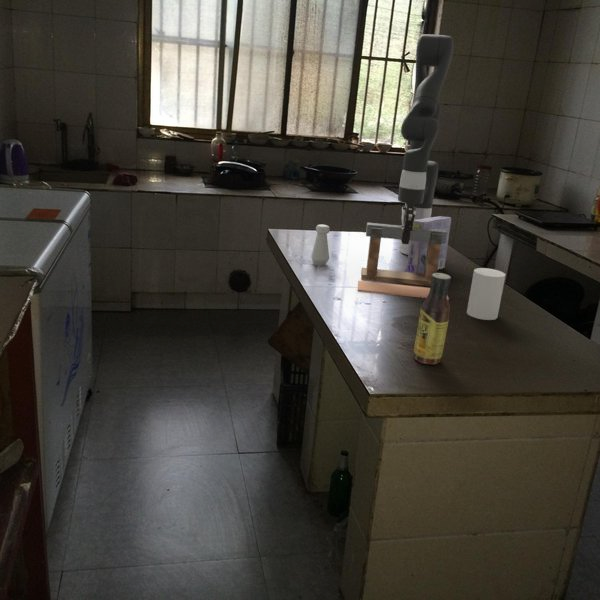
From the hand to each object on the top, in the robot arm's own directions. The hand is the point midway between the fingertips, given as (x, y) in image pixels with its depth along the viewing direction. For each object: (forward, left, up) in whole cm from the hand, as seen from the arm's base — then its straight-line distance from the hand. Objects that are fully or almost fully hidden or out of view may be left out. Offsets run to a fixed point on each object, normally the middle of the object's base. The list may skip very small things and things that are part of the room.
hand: (404, 242), depth 199 cm
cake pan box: (-15, -7, -12) cm, 21 cm away
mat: (+6, +10, -12) cm, 17 cm away
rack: (0, 0, -12) cm, 12 cm away
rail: (0, 0, +1) cm, 1 cm away
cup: (-5, +33, -12) cm, 36 cm away
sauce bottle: (+29, +55, -12) cm, 63 cm away
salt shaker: (+18, -20, -12) cm, 30 cm away
